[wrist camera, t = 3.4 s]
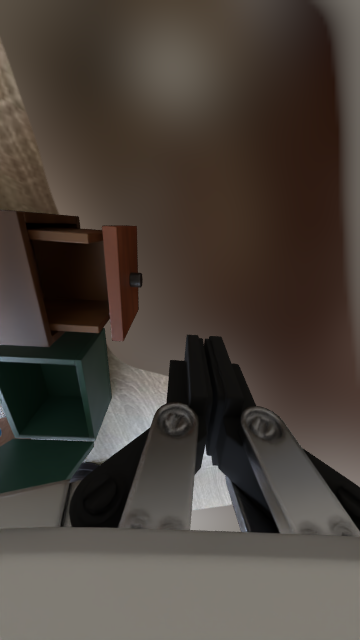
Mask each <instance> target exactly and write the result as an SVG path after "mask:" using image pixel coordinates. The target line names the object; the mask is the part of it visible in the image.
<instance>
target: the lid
mask: <svg viewBox="0 0 360 640" xmlns="http://www.w3.org/2000/svg"><path fill="white" fill-rule="evenodd" d="M93 447H94V442H92V441H65V440H38V439H11V440H10V441H8V442H7V443H5V444H4V445H2V446H0V493H5V492H10V491H15V490H19V489H24V488H29V487H34V486H39V485H43V484H48V483H53V482H58V481H62V480H67V479H71V478H72V476H73V475H74V474H75V472H76V471H77V469H78V468H79V467H80V465H81V464H82V462H83V461H84V460H85V458H86V457H87V455H88V454H89V453H90V451H91V450H92V448H93Z"/></svg>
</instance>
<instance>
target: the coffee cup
mask: <svg viewBox="0 0 360 640" xmlns="http://www.w3.org/2000/svg"><path fill="white" fill-rule="evenodd" d="M11 439H30V438H15V437H14V434H13V432H12V430H11V427H10V425H9V422H8V420H7V418H6V416H5V417H2V418H0V446H2V445H4V444H5V443H7V442H8V441H10V440H11Z"/></svg>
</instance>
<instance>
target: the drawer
mask: <svg viewBox="0 0 360 640" xmlns="http://www.w3.org/2000/svg"><path fill="white" fill-rule="evenodd" d="M26 228H27V232H28V236H29V241H30V245H31V249H32V253H33V258H34V262H35V266H36V271H37V275H38V279H39V284H40V288H41V292H42V297H43V301H44V305H45V309H46V314H47V318H48V322H49V327H50V330H52V331H70V332H89V333H99V332H100V331H101V330H102V328H103V327H104V326H105V324H106V323H107V322H108V320H109V319H110V323H111V333H112V341H124V339H125V337H126V335H127V333H128V330H129V328H130V326H131V324H132V322H133V320H134V318H135V316H136V314H137V312H138V309H139V307H138V287H141V286H142V274H141V273H138V262H137V226H102V230H92V229H78V228H64V227H50V226H36V225H26Z"/></svg>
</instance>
